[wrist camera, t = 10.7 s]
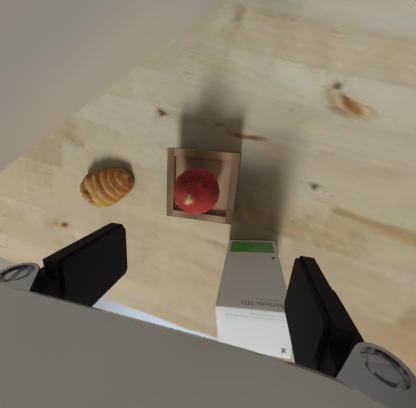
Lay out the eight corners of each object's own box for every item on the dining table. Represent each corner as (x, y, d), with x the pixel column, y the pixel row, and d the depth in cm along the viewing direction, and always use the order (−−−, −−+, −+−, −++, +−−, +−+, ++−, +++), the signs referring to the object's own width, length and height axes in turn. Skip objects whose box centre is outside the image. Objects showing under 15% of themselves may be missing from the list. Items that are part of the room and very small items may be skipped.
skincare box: (275, 239, 33) (298, 311, 19) (274, 272, 35) (295, 362, 20) (227, 239, 35) (213, 304, 20) (228, 270, 37) (217, 351, 22)
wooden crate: (241, 152, 30) (240, 153, 25) (234, 212, 33) (231, 224, 28) (181, 147, 32) (167, 147, 27) (179, 204, 35) (166, 215, 29)
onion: (178, 171, 28) (154, 179, 20) (216, 160, 27) (205, 165, 19) (190, 208, 29) (170, 229, 22) (226, 200, 28) (219, 219, 20)
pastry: (125, 158, 35) (112, 159, 31) (142, 192, 36) (131, 197, 32) (87, 176, 37) (70, 179, 34) (103, 208, 39) (89, 214, 35)
